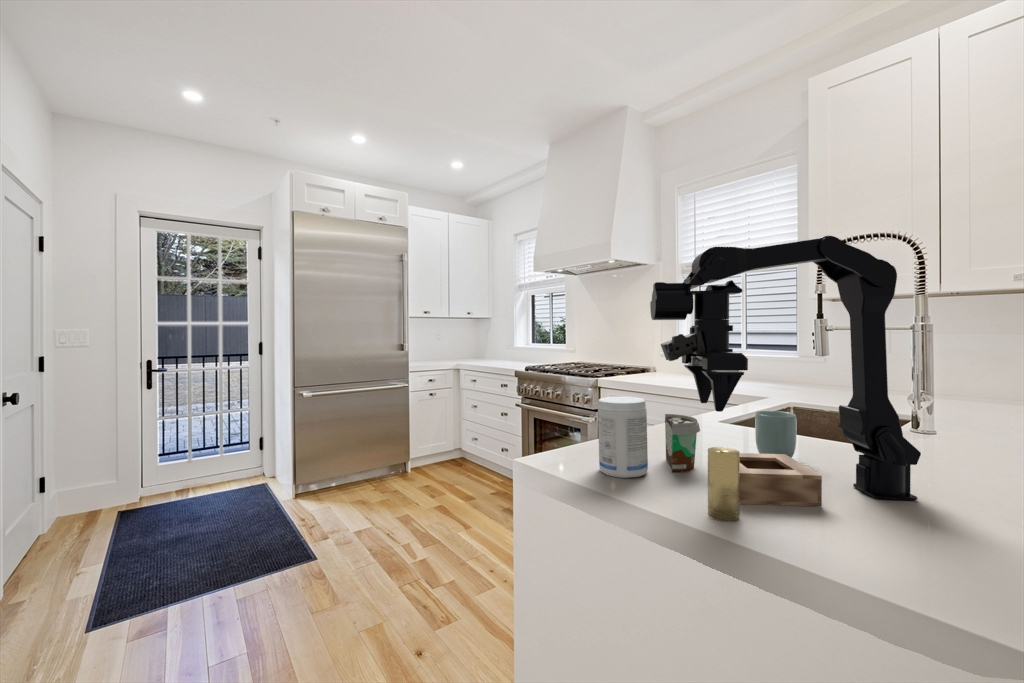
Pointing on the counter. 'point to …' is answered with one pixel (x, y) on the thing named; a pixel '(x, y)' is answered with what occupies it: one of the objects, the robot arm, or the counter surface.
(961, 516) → the counter surface
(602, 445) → the supplement tub
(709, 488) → the brass cylinder
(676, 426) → the food container
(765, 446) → the cup
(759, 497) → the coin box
